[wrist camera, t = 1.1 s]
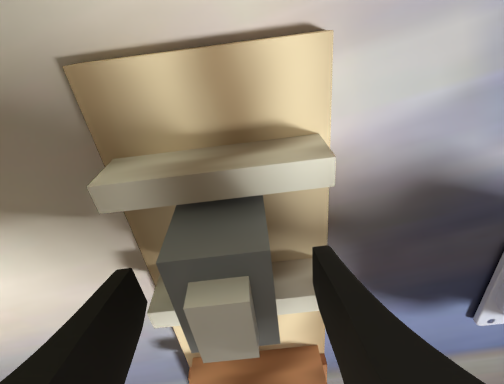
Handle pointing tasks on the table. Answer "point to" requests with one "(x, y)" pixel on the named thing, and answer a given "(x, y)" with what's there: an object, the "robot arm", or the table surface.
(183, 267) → the plug
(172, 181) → the wooden board with blocks
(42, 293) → the table surface
